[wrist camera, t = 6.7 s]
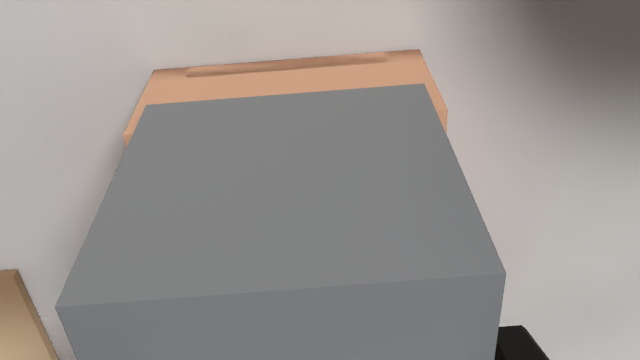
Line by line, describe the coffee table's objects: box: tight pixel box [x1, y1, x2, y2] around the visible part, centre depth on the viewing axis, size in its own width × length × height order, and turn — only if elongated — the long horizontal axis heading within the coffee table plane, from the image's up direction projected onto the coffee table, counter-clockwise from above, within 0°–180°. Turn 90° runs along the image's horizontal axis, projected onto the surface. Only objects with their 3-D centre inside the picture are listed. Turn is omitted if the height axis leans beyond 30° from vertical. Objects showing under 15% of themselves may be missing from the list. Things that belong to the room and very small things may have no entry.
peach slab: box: [123, 49, 448, 147], centre depth 15 cm, size 9×6×3 cm, turn 4°
